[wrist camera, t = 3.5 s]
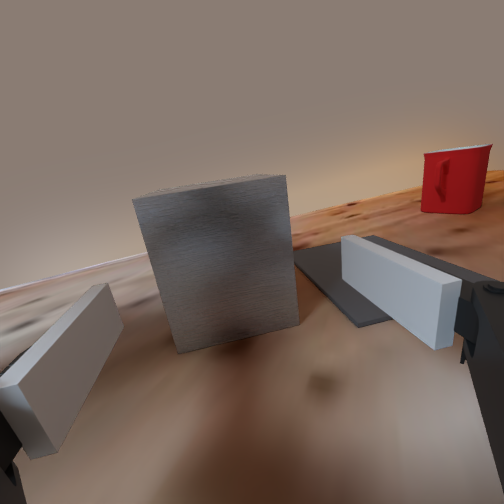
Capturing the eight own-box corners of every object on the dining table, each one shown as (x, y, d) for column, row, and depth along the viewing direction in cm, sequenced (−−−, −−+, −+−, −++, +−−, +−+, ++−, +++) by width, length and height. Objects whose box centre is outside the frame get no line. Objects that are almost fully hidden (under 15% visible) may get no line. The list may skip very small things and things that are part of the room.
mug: (433, 203, 52) (438, 150, 49) (485, 205, 46) (495, 143, 42) (406, 216, 46) (410, 156, 43) (462, 220, 39) (472, 149, 36)
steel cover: (177, 354, 19) (131, 199, 15) (186, 294, 29) (159, 189, 25) (299, 324, 21) (285, 174, 17) (269, 277, 30) (256, 174, 26)
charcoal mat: (358, 327, 19) (358, 323, 19) (286, 255, 36) (285, 252, 36) (509, 289, 21) (510, 285, 21) (373, 237, 38) (373, 235, 38)
